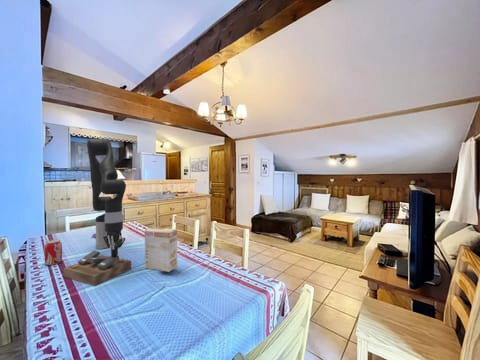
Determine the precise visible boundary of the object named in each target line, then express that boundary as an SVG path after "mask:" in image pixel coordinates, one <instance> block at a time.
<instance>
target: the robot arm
mask: <svg viewBox="0 0 480 360" xmlns="http://www.w3.org/2000/svg"><path fill="white" fill-rule="evenodd" d="M86 145H87V146H86V147H87V155H88V159H89V169H90V170H89V172H90V183H91V190H92V191H91V192H92V209H93V210H94V211H95V212H101V211H102V212H103V211H104V213H102V214H100V215H98V216H96V218H95V234H96V239H95V247H96V249H97V250H98V249H99V250H100V249H101V250H102V249H108V248H109V249H110V256H112V257H116V256H119V248H122V246H123V245H124V242H125V241H126V237H123V235H122V231H123V230H124V216H123V200H124V199H123V198H124V196H125V192H126V190H127V189H126V188H127V185H126V182H125V181H124V180H123V179H118V178H119V174H118V171H117V169H116V164H115V160H114V153H113V147H112V143H111V140H109V139H107V138H89V139H87V141H86ZM98 156H99V157H100V156H105V157H104V158H103V159H102V161H101V162H100V161H99V160H98V158H97V157H98ZM101 193H102V194H103V195H107V196H100V195H101ZM108 195H115V197H113V198H112V196H108Z"/></svg>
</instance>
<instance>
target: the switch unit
mask: <svg viewBox="0 0 480 360" xmlns="http://www.w3.org/2000/svg"><path fill="white" fill-rule="evenodd" d="M110 256H111V255H110ZM110 256H109V255H105V254H100V255H99V256H97V257H108V258H109V257H110ZM99 263H101V262H99ZM99 263H90V262H89V263H88V264H86V265H81V264H79V263H78V262H77V263H74V264H71V265H69V266H65V267H64V268H63V277H65V278H68V279H71V280H74V281H76V282H80V283H83V284H87V285H91V286H97V285H100V284H102V283H103V282H106V281H108V280H110V279H112V278H115V277H116V276H119V275H121V274H123V273H125V272H127V271H129V270H131V269H132V260H129V259H124V258H120V259H119V260H117V261H116V262H115V263H113V264H112V265H110V266H109V267H107V268H106V269H104V270H103V269H99V268H98V267H97V265H98V264H99Z"/></svg>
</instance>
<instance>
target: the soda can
mask: <svg viewBox="0 0 480 360" xmlns="http://www.w3.org/2000/svg"><path fill="white" fill-rule="evenodd" d="M43 248H44V250H43V253H44V254H43V256H44V265H47V266H54V265H57V264H59V263H60V262H62V261H63V244H62V242H61V240H60V239H52V240H48V241H45V245H44V246H43Z"/></svg>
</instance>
